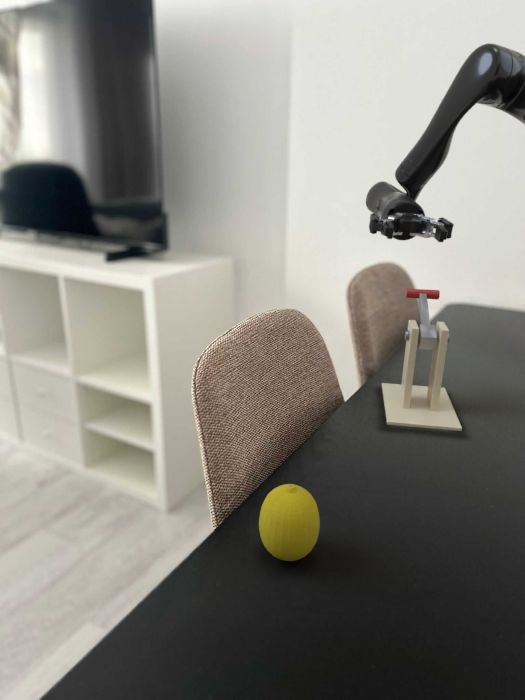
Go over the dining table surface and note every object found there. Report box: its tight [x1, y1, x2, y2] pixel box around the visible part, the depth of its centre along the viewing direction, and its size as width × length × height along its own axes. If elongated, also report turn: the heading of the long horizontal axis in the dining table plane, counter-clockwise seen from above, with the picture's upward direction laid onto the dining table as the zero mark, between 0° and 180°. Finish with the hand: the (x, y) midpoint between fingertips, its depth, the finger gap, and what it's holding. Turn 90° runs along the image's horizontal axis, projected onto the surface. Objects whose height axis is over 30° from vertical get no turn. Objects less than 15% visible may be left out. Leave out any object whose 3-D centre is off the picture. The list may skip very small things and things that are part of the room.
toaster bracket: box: [381, 319, 463, 432], centre depth 75 cm, size 14×10×14 cm
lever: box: [404, 288, 441, 351], centre depth 77 cm, size 12×5×2 cm, turn 171°
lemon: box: [258, 483, 321, 562], centre depth 47 cm, size 6×6×8 cm
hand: (416, 234), depth 86 cm, fingers open, 8 cm apart
